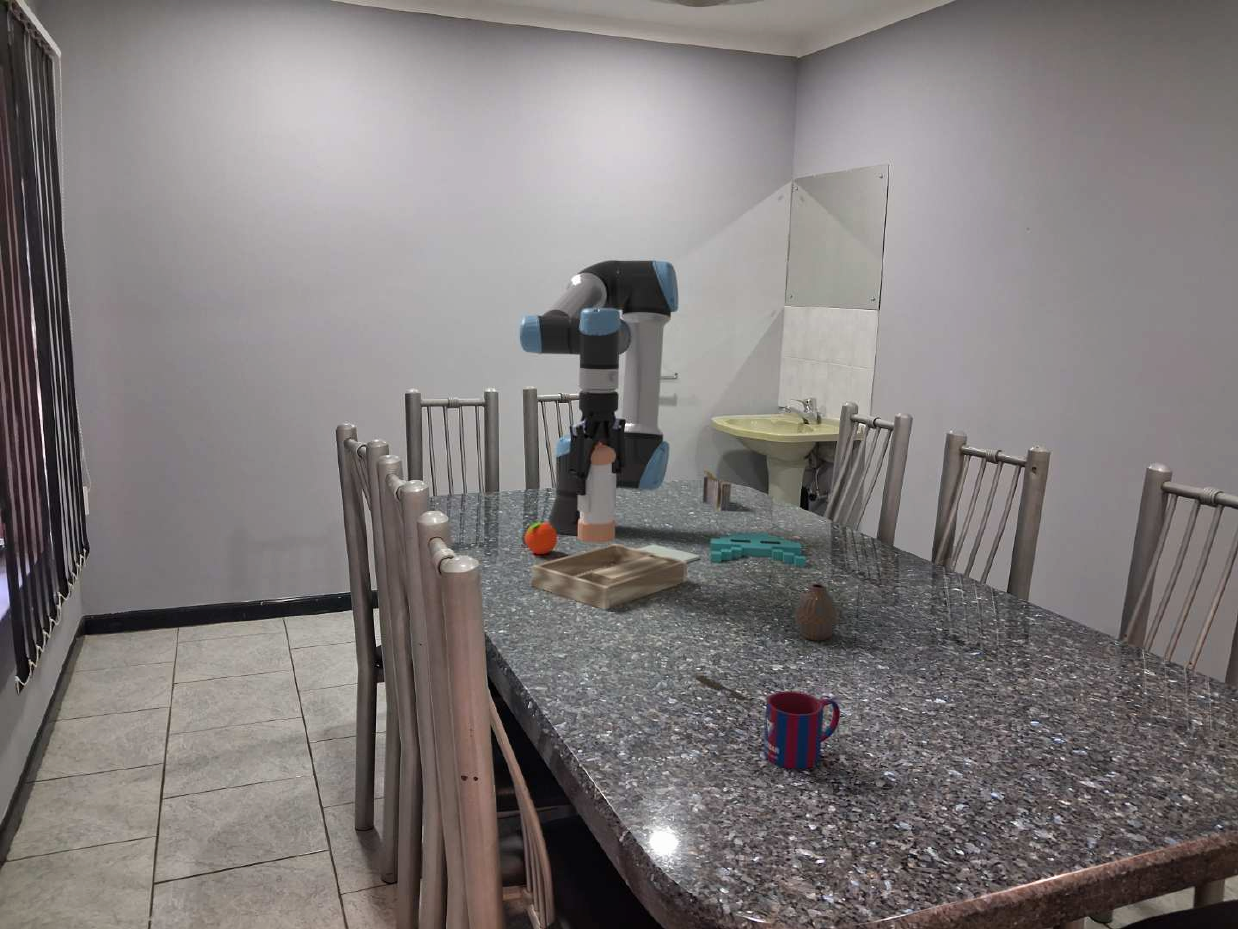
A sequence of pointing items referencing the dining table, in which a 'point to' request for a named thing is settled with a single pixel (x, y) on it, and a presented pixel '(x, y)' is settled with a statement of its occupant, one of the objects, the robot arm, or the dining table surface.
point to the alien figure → (756, 548)
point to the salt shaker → (599, 499)
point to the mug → (796, 729)
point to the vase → (816, 613)
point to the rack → (568, 583)
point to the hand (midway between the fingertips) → (596, 508)
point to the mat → (670, 553)
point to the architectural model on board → (716, 492)
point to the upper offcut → (627, 570)
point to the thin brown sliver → (719, 687)
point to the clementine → (541, 538)
